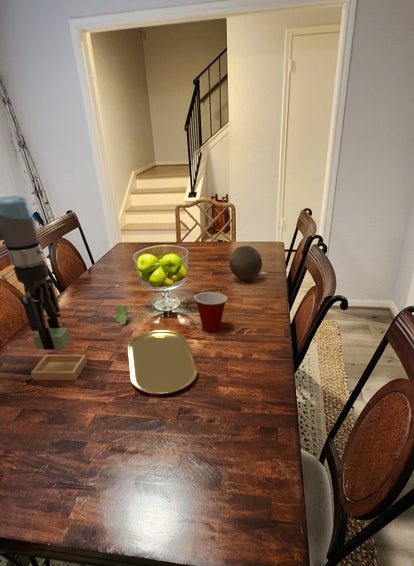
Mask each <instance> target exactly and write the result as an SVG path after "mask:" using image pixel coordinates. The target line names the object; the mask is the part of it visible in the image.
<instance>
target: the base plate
mask: <svg viewBox="0 0 414 566" xmlns="http://www.w3.org/2000/svg"><path fill="white" fill-rule="evenodd" d="M87 364H88V357H87V354H45V355H44V356H43V357H42V358H41V360H40V361H39V362H38V363H37V364H36V366H35V367H34V368H33V369H32V370H31V372H30V374H31V377H32V380H33V381H77V380H78V378H79V377H80V375H81V373H82V371H83V370H84V368H85V367H86V365H87Z"/></svg>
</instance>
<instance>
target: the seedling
mask: <svg viewBox="0 0 414 566" xmlns="http://www.w3.org/2000/svg"><path fill="white" fill-rule="evenodd" d="M115 311H116V312H117V313H116V315H115V321H116V323H119V324H120V325H121V326H122V325H125V324H126V321H127V317H129V315H128V308H127V306H126V304H125V305H124V304H123V306H122V305H120V304H117V305H116V306H115Z"/></svg>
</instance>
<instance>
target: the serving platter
mask: <svg viewBox="0 0 414 566" xmlns="http://www.w3.org/2000/svg"><path fill="white" fill-rule="evenodd" d="M127 356H128V357H127V358H128V367H129V379H130V383H131V384H132V386H133V387H135V389H137V390H138V391H140V392H142V393H145V394H149V395H153V396H154V395H155V396H156V395H157V396H159V395H160V396H164V395H171V394H174V393H177V392H178V393H179V392H180V391H183V390H185V389H186V388H188V387H189V386H191V384H193V382H194V381H195V380H196V379H197V377H198V373H199V372H198V367H197V363H196V361H195V359H194V356H193V353H192V351H191V348H190V345H189V343H188V340H187V338H186V337H185V336H184V335H183V334H182V333H180V332H177V331H173V330H167V329H164V330H163V329H161V330H158V329H157V330H150V331H147V332H144V333H141V334H139V335H137V336H135V337H134V338H132V339H131V340H130V342H129V343H128V345H127Z"/></svg>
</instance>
